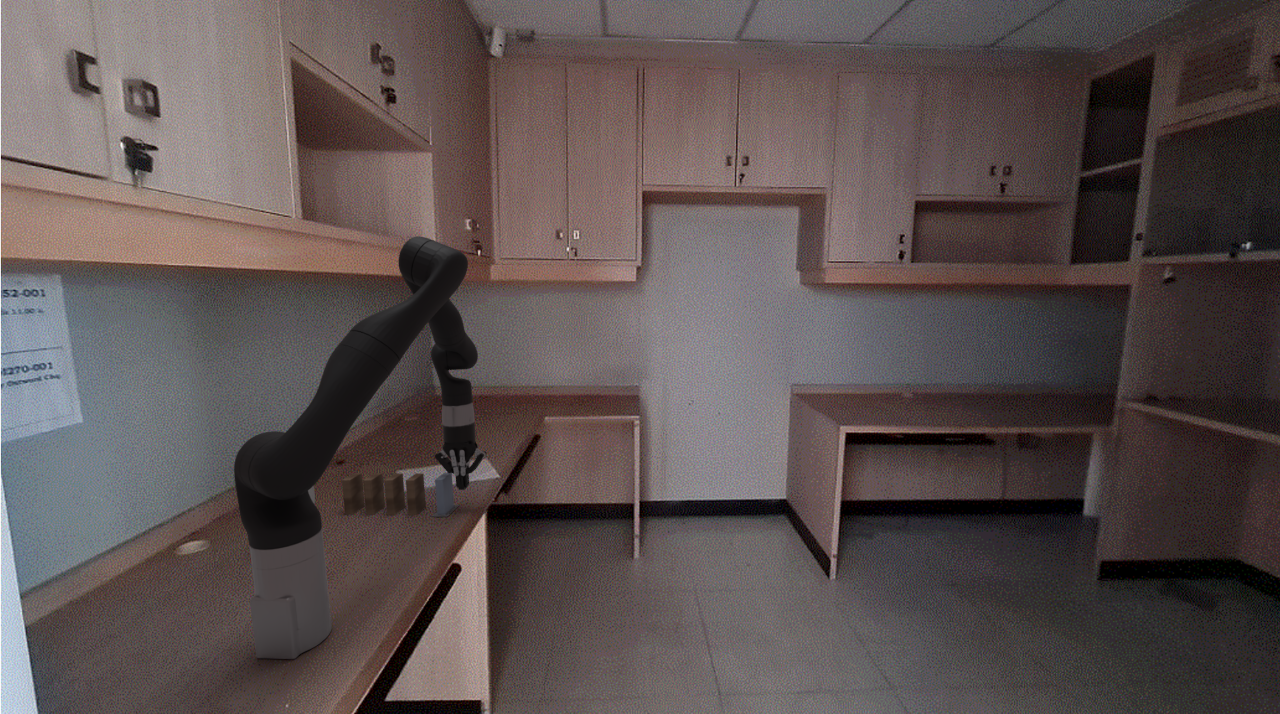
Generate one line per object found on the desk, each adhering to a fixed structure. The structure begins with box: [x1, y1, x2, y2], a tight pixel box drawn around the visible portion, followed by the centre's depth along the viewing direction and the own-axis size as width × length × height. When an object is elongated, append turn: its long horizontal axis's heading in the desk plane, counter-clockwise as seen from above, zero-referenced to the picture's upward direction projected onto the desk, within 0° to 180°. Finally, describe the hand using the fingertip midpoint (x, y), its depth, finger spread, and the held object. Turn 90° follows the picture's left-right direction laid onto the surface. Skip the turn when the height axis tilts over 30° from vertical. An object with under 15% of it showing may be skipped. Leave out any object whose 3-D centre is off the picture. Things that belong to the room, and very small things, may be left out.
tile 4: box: [362, 472, 386, 516], centre depth 127 cm, size 5×2×9 cm, turn 176°
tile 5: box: [341, 472, 365, 516], centre depth 128 cm, size 5×2×9 cm, turn 176°
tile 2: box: [405, 472, 427, 516], centre depth 126 cm, size 5×2×9 cm, turn 176°
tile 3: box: [383, 472, 406, 516], centre depth 127 cm, size 5×2×9 cm, turn 176°
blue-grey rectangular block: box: [434, 472, 455, 515], centre depth 126 cm, size 5×2×9 cm, turn 176°
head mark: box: [431, 504, 460, 518], centre depth 127 cm, size 7×4×1 cm, turn 176°
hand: (462, 488), depth 125 cm, fingers closed
